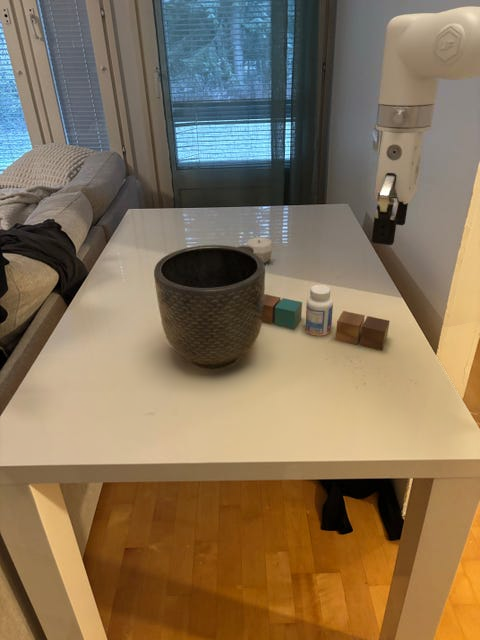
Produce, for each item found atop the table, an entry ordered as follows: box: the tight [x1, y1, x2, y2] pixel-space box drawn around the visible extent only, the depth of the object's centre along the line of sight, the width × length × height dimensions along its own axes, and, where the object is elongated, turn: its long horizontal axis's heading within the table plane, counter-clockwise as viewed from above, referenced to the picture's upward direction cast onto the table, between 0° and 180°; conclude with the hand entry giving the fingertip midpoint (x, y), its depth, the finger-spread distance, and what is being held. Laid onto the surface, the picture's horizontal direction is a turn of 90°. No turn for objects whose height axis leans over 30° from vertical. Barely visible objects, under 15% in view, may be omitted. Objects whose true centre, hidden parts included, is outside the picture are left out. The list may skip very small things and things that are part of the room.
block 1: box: [262, 293, 282, 325], centre depth 102 cm, size 4×4×4 cm
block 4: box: [359, 315, 391, 351], centre depth 93 cm, size 4×4×4 cm
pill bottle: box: [305, 284, 334, 337], centre depth 97 cm, size 6×5×10 cm
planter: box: [153, 244, 266, 370], centre depth 87 cm, size 20×20×19 cm
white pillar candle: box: [245, 237, 274, 264], centre depth 128 cm, size 8×8×7 cm
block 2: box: [274, 297, 303, 330], centre depth 101 cm, size 4×4×4 cm
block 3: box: [335, 310, 366, 345], centre depth 95 cm, size 4×4×4 cm
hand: (388, 233), depth 75 cm, fingers open, 9 cm apart
